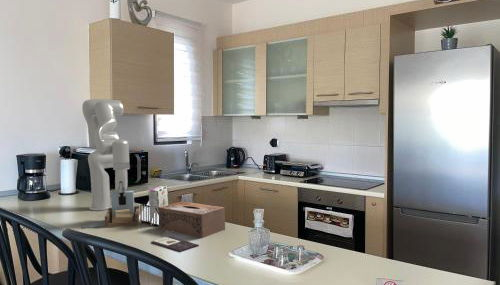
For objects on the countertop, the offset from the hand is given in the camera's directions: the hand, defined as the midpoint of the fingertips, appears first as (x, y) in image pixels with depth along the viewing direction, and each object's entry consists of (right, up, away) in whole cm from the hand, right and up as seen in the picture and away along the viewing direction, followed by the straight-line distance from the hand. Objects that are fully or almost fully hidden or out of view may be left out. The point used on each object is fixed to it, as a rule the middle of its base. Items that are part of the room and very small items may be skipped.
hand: (122, 203), depth 198 cm
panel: (0, -8, +1) cm, 8 cm away
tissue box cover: (+36, -9, -17) cm, 41 cm away
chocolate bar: (+32, -11, -39) cm, 51 cm away
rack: (+1, -9, -3) cm, 9 cm away
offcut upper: (+1, -5, -5) cm, 8 cm away
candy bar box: (+19, -9, -5) cm, 21 cm away
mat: (-11, -9, -5) cm, 15 cm away
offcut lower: (+2, -9, -5) cm, 11 cm away
